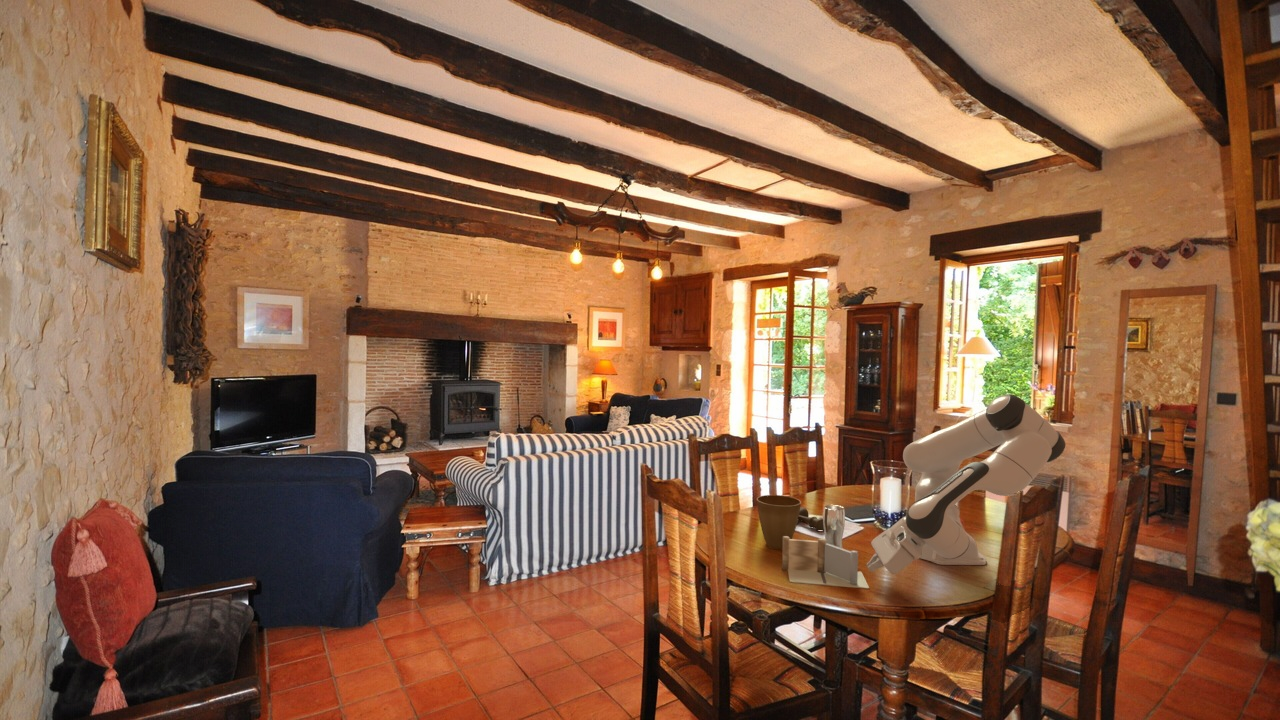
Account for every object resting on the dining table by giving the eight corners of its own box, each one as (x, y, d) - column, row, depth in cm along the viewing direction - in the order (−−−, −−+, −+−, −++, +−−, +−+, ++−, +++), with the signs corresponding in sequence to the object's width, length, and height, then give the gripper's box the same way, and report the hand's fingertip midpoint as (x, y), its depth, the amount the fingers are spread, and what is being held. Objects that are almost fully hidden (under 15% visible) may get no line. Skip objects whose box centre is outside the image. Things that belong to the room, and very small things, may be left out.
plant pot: (797, 556, 192) (797, 507, 192) (752, 549, 198) (752, 502, 197) (803, 542, 206) (803, 497, 205) (760, 536, 212) (761, 492, 211)
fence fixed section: (824, 570, 180) (825, 538, 180) (825, 573, 177) (826, 541, 177) (782, 567, 182) (782, 535, 182) (782, 570, 180) (782, 538, 180)
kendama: (813, 535, 215) (774, 519, 232) (831, 532, 220) (791, 516, 237) (814, 519, 214) (775, 504, 231) (832, 516, 219) (792, 502, 236)
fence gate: (823, 572, 177) (824, 542, 177) (827, 571, 178) (828, 541, 178) (854, 585, 168) (855, 553, 168) (858, 583, 169) (859, 552, 169)
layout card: (861, 572, 179) (861, 571, 179) (869, 588, 167) (869, 587, 167) (787, 566, 183) (787, 565, 183) (789, 582, 171) (789, 581, 171)
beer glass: (824, 546, 201) (824, 503, 201) (845, 550, 198) (846, 506, 198) (820, 553, 195) (821, 508, 194) (842, 556, 192) (843, 511, 191)
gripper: (888, 518, 177) (854, 548, 180) (906, 540, 157) (867, 573, 160) (904, 534, 177) (869, 563, 179) (923, 558, 157) (884, 591, 159)
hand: (868, 568), depth 169 cm, fingers closed
